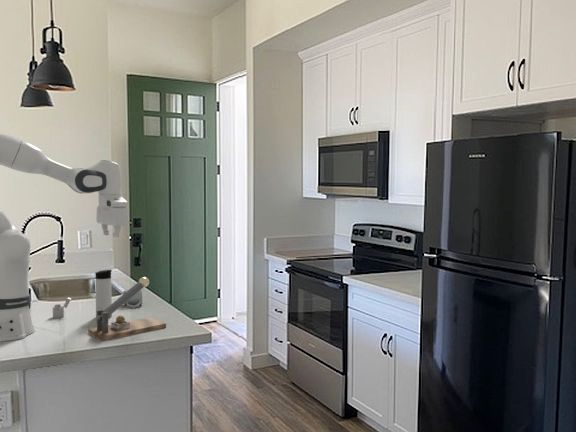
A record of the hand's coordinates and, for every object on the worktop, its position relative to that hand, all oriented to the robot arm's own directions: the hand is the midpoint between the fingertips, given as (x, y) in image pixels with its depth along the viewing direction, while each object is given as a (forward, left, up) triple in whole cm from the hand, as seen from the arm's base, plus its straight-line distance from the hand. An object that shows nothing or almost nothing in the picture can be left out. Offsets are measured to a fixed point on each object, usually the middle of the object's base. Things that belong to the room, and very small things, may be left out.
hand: (111, 236), depth 209 cm
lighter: (-12, +22, -35) cm, 43 cm away
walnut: (-3, -14, -30) cm, 34 cm away
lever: (0, -14, -24) cm, 28 cm away
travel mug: (+1, +10, -35) cm, 37 cm away
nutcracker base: (0, -14, -35) cm, 38 cm away
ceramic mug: (+19, +21, -35) cm, 45 cm away
